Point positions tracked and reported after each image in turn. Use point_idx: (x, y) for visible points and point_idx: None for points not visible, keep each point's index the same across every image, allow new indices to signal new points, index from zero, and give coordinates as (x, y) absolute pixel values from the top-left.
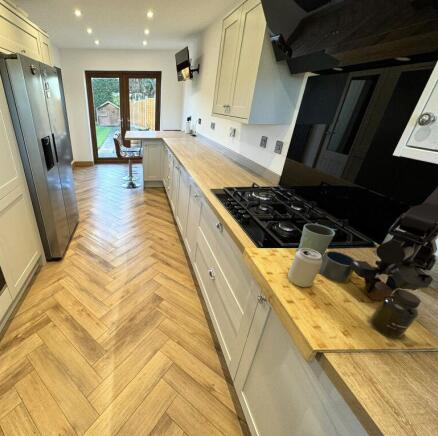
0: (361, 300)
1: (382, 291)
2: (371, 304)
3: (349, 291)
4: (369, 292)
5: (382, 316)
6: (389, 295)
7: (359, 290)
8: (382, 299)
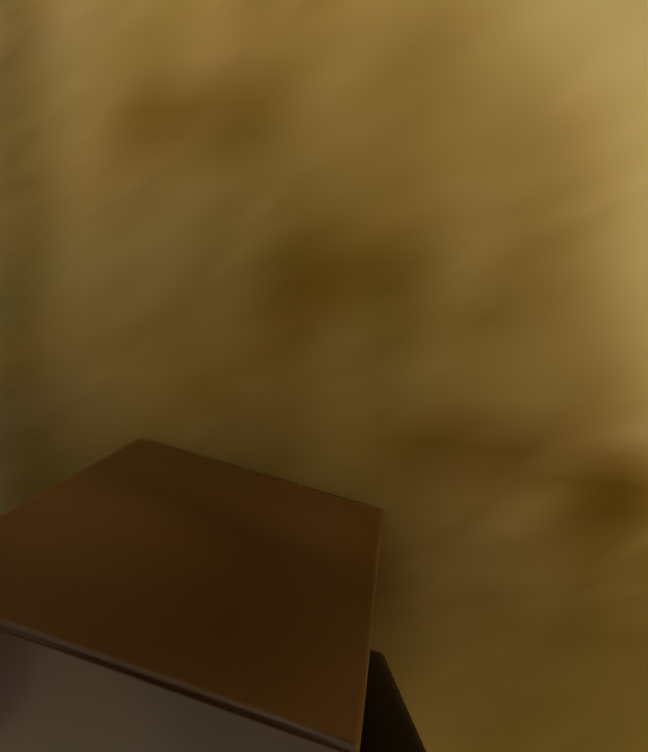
0: (625, 507)
1: (204, 625)
2: (513, 393)
3: (634, 737)
4: None
5: None
6: (57, 502)
7: None
8: (203, 473)
